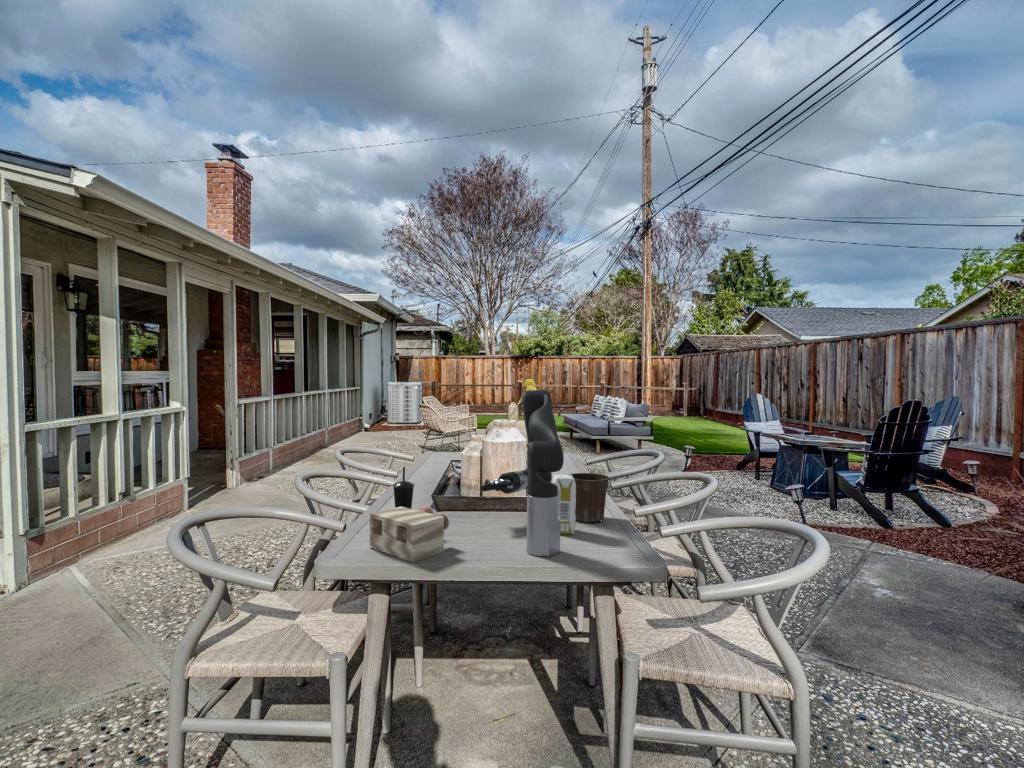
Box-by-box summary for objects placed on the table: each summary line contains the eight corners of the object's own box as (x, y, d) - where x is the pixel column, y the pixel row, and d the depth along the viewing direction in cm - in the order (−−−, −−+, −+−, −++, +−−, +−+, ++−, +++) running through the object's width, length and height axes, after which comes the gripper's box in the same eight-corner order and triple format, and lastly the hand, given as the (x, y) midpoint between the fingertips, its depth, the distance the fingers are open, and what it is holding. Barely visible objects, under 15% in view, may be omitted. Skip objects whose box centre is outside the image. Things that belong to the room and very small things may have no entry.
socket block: (443, 551, 153) (444, 516, 153) (412, 562, 144) (413, 525, 144) (400, 538, 165) (401, 506, 165) (369, 548, 156) (370, 513, 156)
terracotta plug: (433, 521, 169) (433, 507, 168) (393, 533, 155) (393, 517, 155) (423, 519, 171) (423, 505, 171) (383, 530, 158) (383, 515, 158)
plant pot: (563, 513, 201) (564, 472, 201) (604, 513, 201) (605, 472, 201) (567, 524, 185) (568, 479, 185) (612, 525, 185) (613, 480, 184)
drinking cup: (418, 521, 185) (419, 466, 185) (403, 526, 179) (404, 469, 179) (402, 518, 189) (403, 464, 189) (387, 523, 183) (388, 467, 183)
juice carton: (553, 535, 171) (554, 478, 171) (551, 528, 180) (552, 473, 180) (576, 535, 171) (577, 478, 171) (572, 528, 180) (573, 474, 180)
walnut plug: (448, 530, 159) (448, 515, 159) (407, 543, 146) (407, 527, 146) (438, 527, 162) (438, 513, 162) (397, 540, 148) (397, 524, 148)
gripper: (499, 470, 195) (468, 475, 181) (527, 473, 186) (497, 479, 173) (499, 489, 194) (468, 496, 181) (527, 494, 186) (497, 501, 173)
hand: (482, 488), depth 177 cm, fingers closed
